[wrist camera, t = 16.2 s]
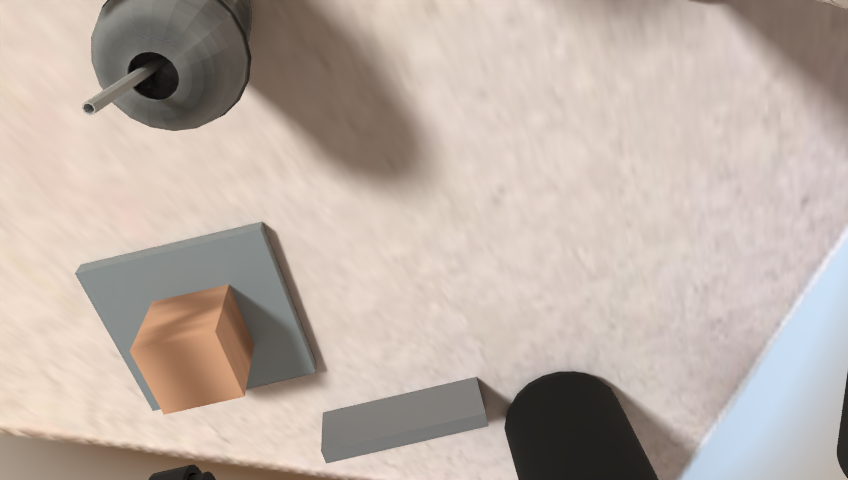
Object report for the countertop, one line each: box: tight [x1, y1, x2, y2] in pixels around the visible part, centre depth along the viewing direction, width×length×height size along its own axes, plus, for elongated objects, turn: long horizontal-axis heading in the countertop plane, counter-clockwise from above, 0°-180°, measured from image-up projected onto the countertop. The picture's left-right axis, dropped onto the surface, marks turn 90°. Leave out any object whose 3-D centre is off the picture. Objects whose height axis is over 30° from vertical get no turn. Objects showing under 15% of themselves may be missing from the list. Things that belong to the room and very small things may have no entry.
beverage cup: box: [82, 0, 252, 131], centre depth 34 cm, size 7×7×20 cm
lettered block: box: [130, 284, 254, 414], centre depth 50 cm, size 6×6×6 cm
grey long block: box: [321, 377, 488, 463], centre depth 58 cm, size 14×4×4 cm, turn 102°
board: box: [75, 222, 316, 411], centre depth 53 cm, size 14×14×1 cm
